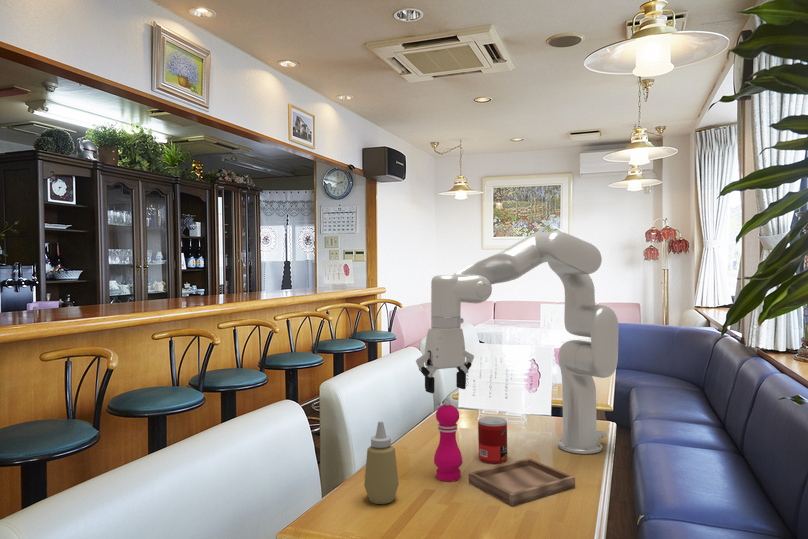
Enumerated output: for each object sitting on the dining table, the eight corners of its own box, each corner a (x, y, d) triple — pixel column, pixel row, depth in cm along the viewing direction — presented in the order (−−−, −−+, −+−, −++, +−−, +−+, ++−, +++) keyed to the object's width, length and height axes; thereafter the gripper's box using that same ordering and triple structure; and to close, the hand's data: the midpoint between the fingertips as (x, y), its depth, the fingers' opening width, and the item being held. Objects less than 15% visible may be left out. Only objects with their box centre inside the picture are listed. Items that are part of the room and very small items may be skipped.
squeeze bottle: (386, 510, 122) (385, 429, 122) (357, 502, 126) (356, 424, 126) (405, 496, 129) (404, 420, 129) (377, 490, 133) (376, 415, 133)
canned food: (507, 465, 149) (506, 424, 149) (477, 463, 151) (477, 423, 151) (507, 455, 157) (507, 417, 157) (479, 454, 158) (478, 415, 158)
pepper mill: (466, 474, 143) (465, 397, 143) (457, 484, 136) (455, 403, 136) (440, 470, 146) (439, 395, 146) (430, 479, 139) (428, 401, 139)
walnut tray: (528, 467, 147) (528, 458, 147) (575, 487, 133) (575, 477, 133) (468, 483, 137) (468, 473, 137) (512, 506, 123) (512, 495, 123)
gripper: (464, 321, 149) (464, 384, 148) (409, 323, 140) (409, 391, 140) (481, 323, 142) (481, 389, 142) (425, 326, 133) (425, 396, 133)
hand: (445, 390), depth 141 cm, fingers open, 9 cm apart
